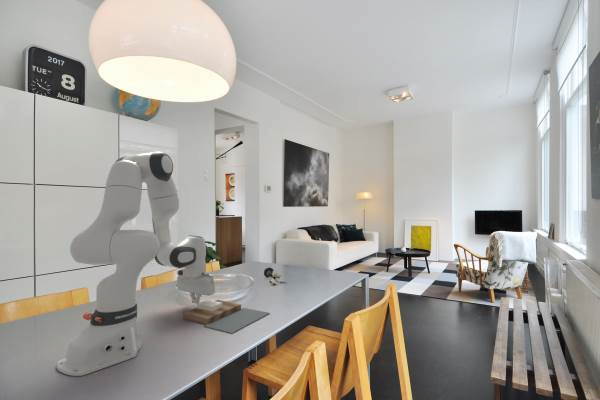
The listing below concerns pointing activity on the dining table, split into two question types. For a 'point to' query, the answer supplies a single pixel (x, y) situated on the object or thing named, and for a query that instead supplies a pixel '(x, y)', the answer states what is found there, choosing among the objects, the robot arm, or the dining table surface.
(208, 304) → the white flat block
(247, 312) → the mat
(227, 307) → the wooden board
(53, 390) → the dining table surface
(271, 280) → the artificial flower
